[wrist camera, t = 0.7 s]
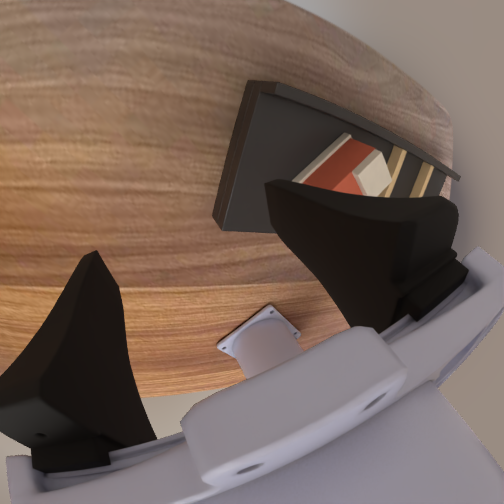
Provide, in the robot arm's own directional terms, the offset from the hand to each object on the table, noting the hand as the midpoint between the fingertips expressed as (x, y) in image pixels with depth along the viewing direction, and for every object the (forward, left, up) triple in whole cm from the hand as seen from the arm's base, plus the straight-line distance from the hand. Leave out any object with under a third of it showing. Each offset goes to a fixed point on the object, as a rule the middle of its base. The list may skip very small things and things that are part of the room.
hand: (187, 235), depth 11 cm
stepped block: (-8, -9, -8) cm, 14 cm away
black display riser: (-13, -14, -10) cm, 22 cm away
